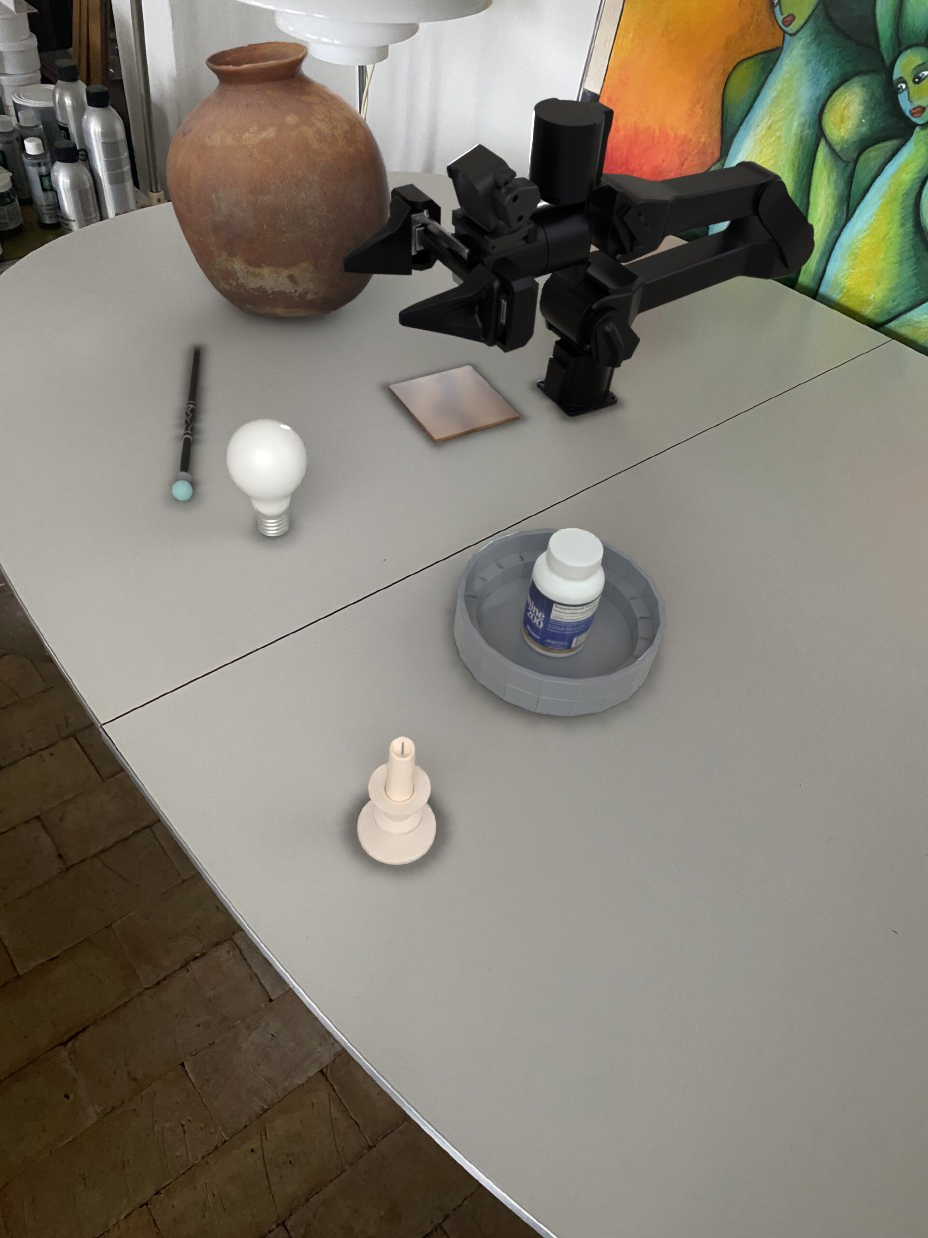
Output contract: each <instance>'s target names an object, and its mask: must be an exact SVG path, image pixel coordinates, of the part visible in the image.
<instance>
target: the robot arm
mask: <svg viewBox="0 0 928 1238" xmlns="http://www.w3.org/2000/svg"><path fill="white" fill-rule="evenodd" d="M614 113H615V111H614V109H613V108H610V107H609V106H607V105H606V104H604V103H602V102H600V101H595V102H590V103H588V102H585V101H580V100H574V99H559V98H557V97H549V98H546V99H542V100H540V101H538V102H537V103H535V105H534V106H533V112H532V126H531V133H530V135H531V137H530V146H529V149H530V150H529V156H528V157H529V158H528V168H527V178H526V177H524V176H523V177H521V176H520V177H517V171H515V170H514V169H512V168H511V167H510V166H509V164H508V163H507V162H506V160H505V159H504V158H502V157H501V156H499V155H498V154H496V153H495V152H494V151H492V150H491V149H489V148H487V147H486V146H485V145H483V144H481V143H478V144H476V145H475V146H473V147H472V148H470V149H469V150H468V151H466V152H464V153H463V154H462V155H460V156H458V157H457V158H456V159H454V160H452V161H451V162H450V163H448V164H447V165H446V169H445V170H446V174H447V177H448V178H449V179H451V182H452V183H451V184H452V186H453V190H454V192H455V196H456V199H457V203H458V205H459V207H458V208H455V209H451V225H452V226H453V227H454V231H453V232H450V231H448V230H447V229H446V228H444V227H443V226H442V207H441V206H440V204H438V203H437V202H436V201H435V200H434V199H433V198H431V197H430V196H429V195H428V194H427V193H425V192H424V191H422V189H420V188H419V187H417V186H416V185H415V184H413V183H409V184H404V185H400V186H396V187H393V188H392V190H391V191H390V198H391V202H390V216H389V219H388V221H387V223H386V224H385V225H384V226H383V227H382V228H381V229H380V230H379V231H378V232H376V233H375V234H374V235H373V236H371V237H370V238H369V239H367V240H366V241H365V242H363V243H362V244H361V245H360V246H358V247H357V248H356V249H354V250H353V251H352V252H350V253H349V254H348V255H346V256H345V257H344V258H343V259H342V266H343V270H344V271H345V272H347V273H358V274H374V275H385V276H387V275H389V276H390V275H391V276H412V275H413V271H419V272H423V271H427V270H430V269H433V267H434V266H435V264H436V263H437V262H439V263H441V264H442V265H444V267H446V268H447V269H448V270H449V271H450V272H451V273H452V275H451V277H452V281H453V282H454V283H456V284H457V286H455V287H453V288H450V289H447V290H445V291H442V292H440V293H437V294H435V295H433V296H429V297H427V298H424V299H423V300H419V301H417V302H415V303H412V304H411V305H409V306H407V307H405V308H403V309H401V310H400V311H399V312H398V324H399V325H400V326H402V327H404V328H410V329H415V330H416V329H417V330H422V331H426V332H432V333H438V334H443V335H447V336H450V337H451V336H452V337H456V338H460V339H464V340H469V341H473V342H477V343H480V344H484V345H486V346H487V347H489V348H493V347H498V349H500V350H501V351H502V352H503V353H504V354H507V353H510V352H513V351H515V350H519V349H521V348H524V347H525V346H526V345H528V343H529V342H530V340H532V338H533V336H534V334H535V326H536V325H535V324H536V316H537V307H539V313H540V314H541V317H543V318H544V324H545V329H547V330H548V331H551V332H552V333H553V334H555V335H556V336H557V337H558V338H559V339H556V340H554V344H553V349H552V355H551V356H550V357H549V358H548V361H547V367H546V373H545V378H541V379H539V380H537V382H536V387H537V388H538V389H539V391H541V392H542V393H543V394H544V395H545V396H546V397H547V398H548V399H549V400H551V401H552V403H554V404H555V405H556V406H557V407H558V408H559V409H560V410H561V411H562V412H563V413H564V414H565V415H566V416H568V417H572V418H573V417H577V416H580V415H584V414H587V413H591V412H594V411H597V410H601V409H603V408H604V409H605V408H607V407H611V406H614V405H616V404H618V401H619V398H618V397H617V396H616V394H614V393H613V392H612V391H611V390H610V389H611V385H612V381H613V377H614V373H615V370H616V369H617V368H620V367H621V366H622V364H623V362H624V361H628V360H630V359H631V358H632V357H633V355H634V353H635V351H636V350H637V347H638V346H639V344H640V342H641V338H640V337H639V335H638V334H637V333H636V332H635V330H634V329H633V327H632V325H633V324H634V322H635V320H636V318H637V316H639V315H640V314H642V313H645V312H648V311H651V310H652V309H655V308H658V307H661V306H664V305H666V304H668V303H673V302H674V301H677V300H679V299H682V298H685V297H687V296H690V295H693V294H695V293H698V292H701V291H704V290H706V289H709V288H711V287H714V286H716V285H719V284H722V283H724V282H727V281H729V280H733V279H735V278H738V277H745V278H751V279H752V278H753V279H760V280H764V281H765V280H766V281H768V280H775V279H781V278H786V277H789V276H791V275H792V274H794V273H796V272H797V271H798V270H800V269H802V268H803V267H804V266H805V265H807V262H808V261H809V260H810V259H811V257H812V256H813V253H814V250H815V247H816V240H815V228H814V224H812V223H811V222H809V220H808V218H807V217H806V215H805V214H804V213H803V211H802V209H800V207H799V206H798V204H797V203H796V202H795V201H794V199H793V198H792V196H791V195H790V193H789V191H788V187H787V185H786V183H785V182H784V180H783V178H782V176H781V175H779V174H778V173H776V172H774V171H772V170H770V169H768V168H767V167H765V166H762V165H761V164H759V163H757V162H755V161H753V160H742V161H739V162H737V163H736V164H735V165H733V166H728V167H723V168H718V169H712V170H708V171H703V172H702V171H701V172H697V173H692V174H685V175H681V176H677V177H672V178H665V179H661V180H652V179H646V178H642V177H640V176H634V175H630V174H627V173H626V174H625V173H612V172H611V173H610V172H604V168H605V167H604V166H605V161H606V154H607V147H608V142H609V137H610V133H611V130H612V127H613V122H614V116H615V114H614ZM541 201H542V202H541ZM726 222H728V223H727V224H726V227H725V228H724V229H722V230H719V231H717V232H714V233H712V234H709V235H706V236H703V237H700V238H697V239H694V240H691V241H688V242H685V243H683V244H680V245H677V246H674V247H671V248H668V249H666V250H665V249H664V250H663V251H660V252H657V253H654V252H655V251H657V250H658V249H659V248H660V246H661V245H662V244H663V242H664V240H665V238H667V237H670V236H672V235H674V234H679V233H682V232H688V231H692V230H695V229H696V230H697V229H700V228H704V227H709V226H713V225H718V224H722V223H726ZM592 246H593V247H595V248H596V249H597V250H592V251H591V249H592ZM651 253H654V254H651ZM649 254H651V255H649ZM647 255H648V256H647ZM644 256H646V257H644ZM642 257H643V258H642ZM548 275H549V277H548V278H547V279H546V280H545V282H544V283H543V285H542V288H541V292H540V298H539V299H538V297H539V290H540V283H539V282H538V281H537V280H536V279H538V278H541V277H544V276H548ZM538 300H539V302H538ZM537 305H539V306H537Z"/></svg>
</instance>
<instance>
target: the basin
mask: <svg viewBox="0 0 928 1238" xmlns="http://www.w3.org/2000/svg"><path fill="white" fill-rule="evenodd" d="M559 530H560V529H555V528H539V529H538V528H537V529H527V530H519V531H515V532H513V533H510V534H507V535H504V536H501V537H498V538H496V539H493V540H491V541H489V543H488V544H486V545H485V546H483V547H482V548H481V549H479V550H478V551H477V552H475V553H474V554H473V555H472V556H471V558H470V559H469V561H468V563H467V564H466V566H465V568H464V569H463V571H462V572H461V574H460V576H459V582H458V591H457V600H456V607H455V615H454V623H453V631H452V632H453V633H452V635H453V638H454V641H455V644H456V648H457V652H458V655H459V658H460V659H461V661H462V662H463V663H464V665H465V667H466V668H467V669H468V670H469V672H470V673H471V674H472V676H473V678H474V679H475V680H476V682H478V683H479V684H481V686H484V687H485V688H486V689H487V690H489V691H490V692H492V693H493V694H494V695H496V696H497V697H498V698H500V699H501V700H502V701H504V702H506V703H509V704H512V705H514V706H518V707H519V708H522V709H525V710H527V711H530V712H532V713H535V714H543V715H550V716H558V717H566V718H567V717H570V718H571V717H575V716H576V717H577V716H584V715H591V714H597V713H601V712H604V711H606V710H608V709H611V708H612V707H615V706H617V705H619V704H621V703H623V702H626V701H627V700H629V698H631V697H632V695H633V694H635V692H636V691H637V690H638V689H640V687H641V686H642V685H643V684H644V683H645V682H646V680H647V678H648V674H649V673H650V670H651V668H652V665H653V663H654V660H655V658H656V655H657V653H658V651H659V648H660V645H661V642H662V639H663V636H664V634H665V631H666V628H667V619H666V618H667V617H666V608H665V607H666V606H665V601H664V598H663V596H662V594H661V592H660V590H659V589H658V586H657V584H656V583H655V580H654V578H653V577H652V576H651V575H650V574H649V573H648V572H647V571H646V570H645V569H644V567H642V566H641V565H640V564H639V563H638V562H637V560H635V559H634V558H633V557H632V556H630V555H628V553H625V552H624V551H622V550H621V549H619V548H618V547H616V546H615V545H613V544H611V543H609V542H607V541H604V540H602V539H599V540H600V542H601V544H602V546H603V557H602V562H601V566H602V568H603V571H604V576H605V582H604V588H603V590H602V593H601V597H600V600H599V603H598V606H597V610H596V613H595V616H594V619H593V622H592V626H591V629H590V633H589V636H588V638H587V641H586V643H585V645H584V646H583V648H582V649H581V650H580V651H578V652H577V653H575V654H573V655H570V656H566V657H550V656H546V655H543V654H541V653H539V652H537V651H535V650H534V649H533V648H531V647H530V646H529V645H528V644H527V642H526V640H525V639H524V637H523V634H522V620H523V615H524V610H525V605H526V601H527V595H528V591H529V586H530V581H531V577H532V572H533V568H534V565H535V562H536V560H537V559H538V558H539V556H540V555H541V554H543V553H544V552H545V551H547V547H548V544H549V541H550V538H551V537H552V535H553V534H554V533H556V532H557V531H559Z"/></svg>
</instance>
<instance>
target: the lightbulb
mask: <svg viewBox="0 0 928 1238" xmlns="http://www.w3.org/2000/svg"><path fill="white" fill-rule="evenodd" d="M229 438H230V439H229V440H228V442H227V446H226V450H225V465H226V470H227V472H228V474H229V476H230V478H231V480H232V482H233V483H234V484H235V485H236V487H237V488H238V489H239V490H240V491H242V492H243V493H244V494H245V495H247V496H248V498H249V500H250V504H251V505H252V506H253V508H254V509H255V517H256V523H257V524H256V525H257V530H258V532H260V533H261V534H262V535H265V536H266V537H279V536H282V535H283V534H285V533H287V531H288V530H289V529H290V516H289V505H290V504H291V500H292V496H293V492H295V490H296V489H297V488H298V487H299V486H300V484H301V483H302V481H303V479H304V477H305V475H306V472H307V467H308V452H307V449H306V446H305V444H304V441H303V440H302V438H301V437H300V435H299V434H298V432H296V430H295V429H294V428H293V427H291V426H289V425H288V424H286V423H285V422H284V421H280V420H277V419H273V418H266V417H265V418H263V417H261V418H256V419H252V420H250V421H247V422H245V423H243V424H242V425H241V426H239V427H238V428H237V429H236V430H235V431H234V433H232V435H231V436H230V437H229Z"/></svg>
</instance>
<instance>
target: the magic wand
mask: <svg viewBox="0 0 928 1238" xmlns="http://www.w3.org/2000/svg"><path fill="white" fill-rule="evenodd" d="M199 359H200V347H199V346H198V345H196V346H195V347H194V350H193V358H192V365H191V366H192V367H191V373H190V380H189V381H190V382H189V391H188V399H187V402H186V405H185V406H186V407H185V417H186V418H185V419H184V424H185V426H184V432H183V434H182V441H183V442H182V448H181V454H180V463H179V472H177V473H176V474H175V476H174V479H175V482H174V483H172V487H171V494H172V496H173V497H174V498H175V500H177V501H180V502H186V501H188V500H189V499H190V498H191V497H192V495H193V491H194V490H193V486H192V484H191V482H192V479H193V478H192V475H191V474H190V473H189V470H190V464H191V451H192V442H193V437H194V436H193V429H194V424H193V423H194V420H195V412H196V405H197V404H196V394H197V382H198V372H199V362H200V361H199Z"/></svg>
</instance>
